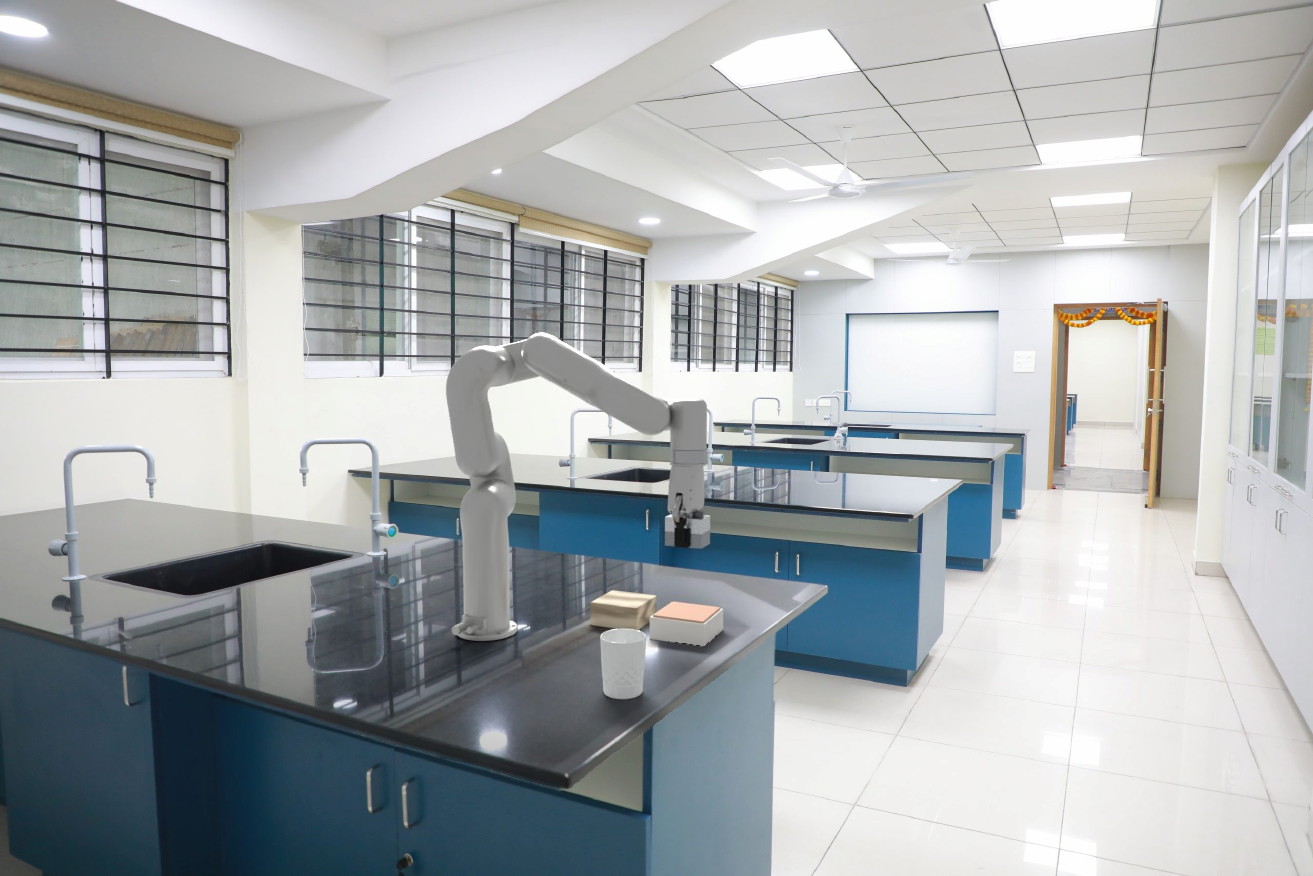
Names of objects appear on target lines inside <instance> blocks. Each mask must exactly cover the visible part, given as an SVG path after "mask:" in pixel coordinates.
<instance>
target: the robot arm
mask: <svg viewBox="0 0 1313 876" xmlns="http://www.w3.org/2000/svg"><path fill="white" fill-rule="evenodd" d="M539 377H541V378H542V379H544V380H546V381H548V382H550V383H552V384H554V385H556V386H558V387H559V388H561V389H562V390H565V391H566V392H568V393H570V394H572V395H573V396H575V397H576V398H579V399H580V400H582V401H584V402H585V403H586V404H588V405H590V406H592V407H595V408H597V409H598V410H600V411H602V412H603V413H605V414H607V415H609V416H610V417H612V418H614V419H615V420H617V421H619V422H621V423H623V424H624V425H626V426H628V427H629V428H632V429H633V430H635V431H637V432H639V433H641V434H643V435H646V436H656V435H659V434H662V433H663V432H666V431H670V433H669V435H670V437H669V438H670V441H669V442H670V443H669V446H670V448H669V449H670V451H669V453H670V454H669V455H670V457H669V459H670V461H669V465H670V473H669V479H668V480H669V481H668V494H667V511H668V513H669V514H672V517H673V520H674V546H673V547H676V548H685V549H687V548H688V547H690V528H688V524H689V516H690V514H692V513H693V512H695V511H698V510H701V511H702V509H703V507H704V506H705V472H704V471H705V469H704V467H705V466H707V450H708V449H707V447H708V445H707V443H708V442H707V441H708V440H707V438H708V437H707V436H708V435H707V434H708V432H707V430H708V429H707V427H708V405H707V402H706V401H705V400H704V399H702V398H694V397H693V398H691V397H685V398H683V397H681V398H674V399H673V398H666V397H664V398H663V397H657V396H653V395H650V394H649V393H647V392H646V391H644V390H642V389H640V388H639V387H637V386H635V385H633V384H631V383H629V382H628V381H626V380H625V379H624V378H621V377H620V376H618V375H617V373H615V372H613V371H612V369H610V368H609V367H608V366H606V365H605V364H603V363H602V362H600V361H598V360H597V359H595V358H593V357H591V356H589V355H587V354H585V353H584V352H582V351H580V350H578V349H576V348H575V347H573V346H572V345H569V344H568V343H566V342H564V341H562V340H560V338H558V336H555V335H554V334H553V335H552V334H550V333H547V332H537V333H534V334H532V335H530V336H529V337H528V338H527V339H523V340H520V341H516V342H511V343H507V344H503V345H497V346H493V345H480V346H476V347H474V348H473V347H472V348H470V350H467V351H466V352H465V353H464V354H462V355H461V356H460V357H459V358H457V359H456V360H455V362H454V364H452V366H451V368H450V370H449V372H448V375H447V378H446V384H445V397H446V404H447V409H448V417H449V423H450V430H451V435H452V442H453V448H454V457H455V461H456V465H457V467H458V469H459V470H460V471H461V473H462V474H464V475H466V476H467V477H469V483H470V489H468V491H466V493H465V494H464V496H463V498H462V500H461V503H460V508H459V519H460V529H461V538H462V539H461V540H462V565H463V566H462V567H463V569H462V570H463V573H462V574H463V575H462V576H463V582H462V583H463V584H462V587H463V590H462V591H463V615H461V621H460V623H457V624H455V625H453V626H452V628H451V633H452V635H453V636H458V637H459V638H460V639H463V640H468V641H473V642H474V641H475V642H476V641H477V642H486V641H487V642H489V641H496V640H503V639H506V638H509V637H511V636H514V635H515V634H516V633H517V631H518V624H517V623H516V622H515V621H513V620H511V619H510V618H511V615H510V613H511V606H510V605H511V603H510V598H511V597H510V596H511V595H510V593H511V592H510V591H511V589H510V586H511V584H510V583H511V582H510V578H511V577H510V569H511V568H510V541H509V540H510V537H509V527H508V526H509V525H508V523H509V522H508V520H509V519H508V517H509V516H510V515H511V514H512V513H513V511H514V509H515V506H516V502H517V494H516V485H515V480H514V474H513V468H512V463H511V458H510V451H509V447H508V446H507V442H506V440H505V439H504V437H502V435H501V434H500V433H498V432H496V431H495V428H494V423H493V416H492V411H491V410H492V409H491V406H490V402H489V397H488V393H489V390H490V389H491V388H493V387H494V388H495V387H503V386H506V385H509V384H515V383H518V382H523V381H527V380H531V379H535V378H539ZM682 511H684V512H682ZM681 516H685V521H684V519H683V517H681Z"/></svg>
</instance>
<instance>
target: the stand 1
mask: <svg viewBox="0 0 1313 876" xmlns="http://www.w3.org/2000/svg"><path fill="white" fill-rule="evenodd" d="M657 597H658V596H657V595H655V594H647V593H640V592H630V591H622V590H621V591H620V590H609V592H607V593H605V594H603V595H601V596H599V597H597V598H595V599H594V600H592V601H590V603H589V605H590V607H589V608H590V610H589V611H590V616H589V617H590V620H589V622H590V623H589V624H590V625H591V626H596V627H602V628H603V627H604V628H609V629H634V630H638V631H640V630H641V629H642V628H643V627H645V626H646V625H647V624H650V617H651V616H652V615H653V614H655V613H656V612H658V609H657V606H658V605H657V604H658V603H657V601H658V599H657ZM640 628H641V629H640Z"/></svg>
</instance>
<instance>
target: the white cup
mask: <svg viewBox="0 0 1313 876" xmlns="http://www.w3.org/2000/svg"><path fill="white" fill-rule="evenodd" d="M599 639H600V660H601V661H600V663H601V677H602V687H603V688H602V690H603V691H602V692H603V694H604V696H606V697H608V698H611V699H616V700H629V699H635V698H638V697H639V696H641V695H642V694H643V691H644V676H645V665H646V649H647V647H646V646H647V634H646V633H645V632H643V631H640V630H634V629H617V628H612V629H610V630H606V631H603V632H602V633H601V634H600V637H599Z"/></svg>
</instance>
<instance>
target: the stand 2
mask: <svg viewBox="0 0 1313 876" xmlns="http://www.w3.org/2000/svg"><path fill="white" fill-rule="evenodd" d="M723 630H724V608H721V606H720V607H719V606H713V605H705V604H698V603H697V604H696V603H688V602H680V601H674V600H673V601H671V602H669V603H668V604H667V605H665V606H664V607H662V608H661V609H659V610H657V612H656V613H655V614H653V615H652V616H651V617H650V622H649V639H650V640H654V641H655V640H656V641H661V642H662V641H663V642H668V641H669V642H668V643H675V642H678V643H677V644H682V643H687V644H686V645H689V644H693V645H692V646H696V645H700V646H699V647H703V646H705V645H706V644H707V643H708V642H709V643H710V642H711V641H712V640H714V639H715V636H716V635H717V636H718V635H719V634H720V633H721V632H722V631H723ZM709 643H708V644H709ZM708 644H707V645H708ZM707 645H706V646H707ZM706 646H705V647H706Z"/></svg>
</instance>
